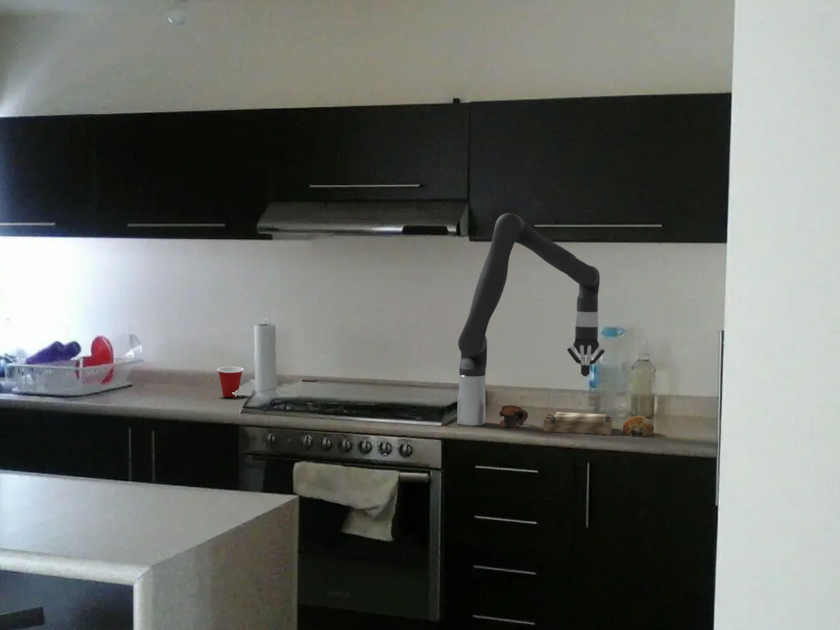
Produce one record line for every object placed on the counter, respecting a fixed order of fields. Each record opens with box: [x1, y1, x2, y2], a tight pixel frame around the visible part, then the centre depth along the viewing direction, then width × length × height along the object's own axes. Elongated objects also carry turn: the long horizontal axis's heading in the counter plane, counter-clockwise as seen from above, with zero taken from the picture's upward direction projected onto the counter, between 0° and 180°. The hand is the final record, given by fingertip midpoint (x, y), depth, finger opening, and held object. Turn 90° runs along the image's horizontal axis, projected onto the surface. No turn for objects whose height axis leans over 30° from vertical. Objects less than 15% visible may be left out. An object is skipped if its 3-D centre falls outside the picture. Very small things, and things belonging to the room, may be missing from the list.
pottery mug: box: [498, 404, 529, 429], centre depth 318 cm, size 12×10×8 cm
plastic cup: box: [216, 366, 244, 398], centre depth 378 cm, size 11×11×12 cm
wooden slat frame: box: [543, 411, 613, 436], centre depth 311 cm, size 22×12×5 cm, turn 75°
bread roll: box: [622, 415, 655, 437], centre depth 305 cm, size 10×10×8 cm
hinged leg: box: [550, 414, 611, 422], centre depth 308 cm, size 20×3×2 cm, turn 75°
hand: (585, 376), depth 309 cm, fingers closed
